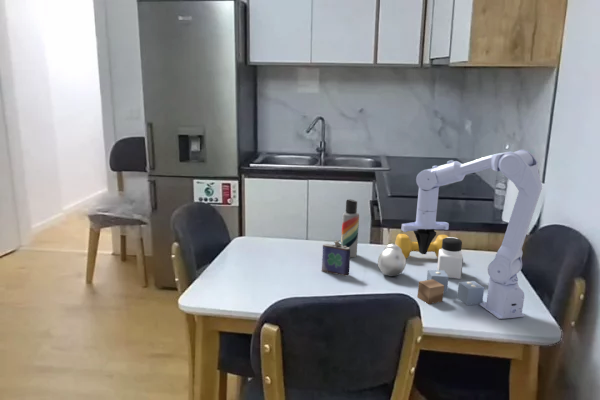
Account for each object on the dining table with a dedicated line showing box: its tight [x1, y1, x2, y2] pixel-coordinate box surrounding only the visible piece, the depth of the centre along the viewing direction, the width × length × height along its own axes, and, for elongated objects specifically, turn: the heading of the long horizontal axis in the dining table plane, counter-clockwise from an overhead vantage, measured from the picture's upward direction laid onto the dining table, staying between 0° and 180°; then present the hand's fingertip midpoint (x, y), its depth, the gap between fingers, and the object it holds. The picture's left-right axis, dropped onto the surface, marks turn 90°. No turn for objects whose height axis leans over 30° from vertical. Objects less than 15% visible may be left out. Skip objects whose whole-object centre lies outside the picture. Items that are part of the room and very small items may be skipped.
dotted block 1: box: [426, 269, 449, 293], centre depth 162 cm, size 5×5×5 cm
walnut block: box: [417, 279, 445, 305], centre depth 153 cm, size 5×5×5 cm
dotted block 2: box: [456, 280, 485, 306], centre depth 154 cm, size 5×5×5 cm
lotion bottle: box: [340, 198, 360, 259], centre depth 186 cm, size 6×6×20 cm
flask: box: [321, 239, 351, 277], centre depth 171 cm, size 9×3×11 cm, turn 65°
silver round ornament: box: [377, 243, 407, 277], centre depth 171 cm, size 9×10×10 cm
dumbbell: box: [394, 233, 449, 260], centre depth 188 cm, size 19×9×8 cm, turn 91°
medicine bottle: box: [436, 236, 464, 280], centre depth 173 cm, size 7×7×12 cm
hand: (422, 253), depth 161 cm, fingers closed
